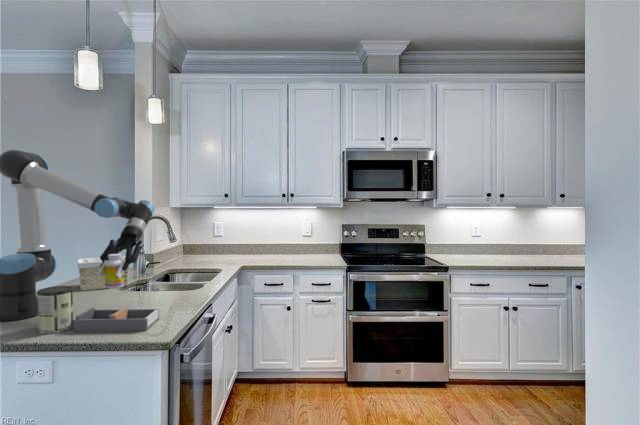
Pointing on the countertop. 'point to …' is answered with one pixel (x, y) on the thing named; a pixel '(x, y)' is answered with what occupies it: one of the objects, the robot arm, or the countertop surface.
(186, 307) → the countertop surface
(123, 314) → the lane pusher
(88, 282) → the storage basket
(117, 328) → the grey shallow box
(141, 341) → the countertop surface
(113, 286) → the supplement bottle
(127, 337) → the countertop surface
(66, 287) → the coffee can
